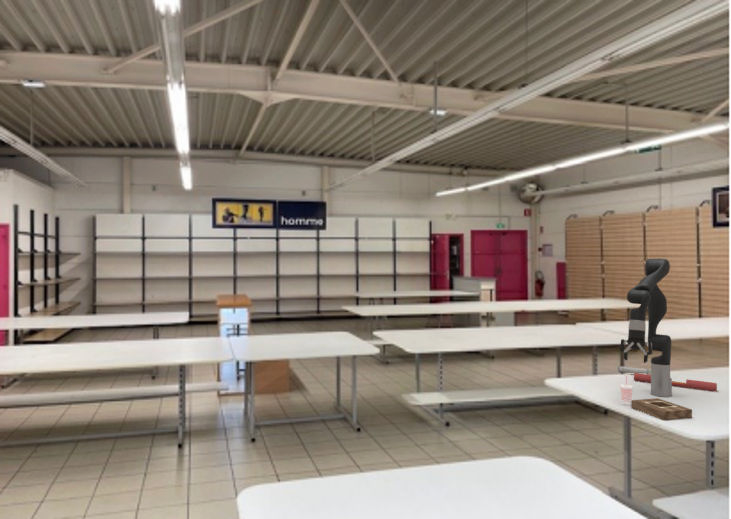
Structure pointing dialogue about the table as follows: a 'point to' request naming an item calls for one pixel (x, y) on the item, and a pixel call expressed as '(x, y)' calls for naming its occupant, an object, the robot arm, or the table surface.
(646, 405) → the socket board
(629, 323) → the robot arm
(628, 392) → the beverage cup
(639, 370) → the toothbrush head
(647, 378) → the reddish-brown long rod
